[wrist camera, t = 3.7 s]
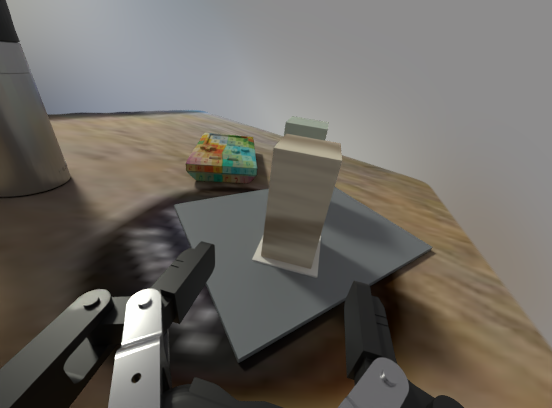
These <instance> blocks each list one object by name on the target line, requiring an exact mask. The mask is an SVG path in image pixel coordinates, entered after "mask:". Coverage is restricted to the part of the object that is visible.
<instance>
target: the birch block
mask: <svg viewBox="0 0 552 408" xmlns="http://www.w3.org/2000/svg"><path fill="white" fill-rule="evenodd" d="M341 162H342V155H341V144H340V143H335V142H330V141H324V140H319V139H313V138H308V137H302V136H297V135H291V134H286V135H285V136H284V137H283V138H282V139H281V140H280V141H279V142H278V143H277V145H276V146H275V147H274V150H273V158H272V167H271V175H270V184H269V192H268V200H267V209H266V217H265V226H264V234H263V242H262V251H261V256H263V257H266V258H270V259H274V260H278V261H282V262H286V263H290V264H293V265H297V266H301V267H305V268H309V269H311V267H312V264H313V260H314V257H315V253H316V250H317V246H318V243H319V239H320V236H321V232H322V229H323V225H324V222H325V218H326V215H327V211H328V208H329V204H330V201H331V197H332V194H333V190H334V187H335V183H336V180H337V176H338V173H339V169H340V166H341Z"/></svg>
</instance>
